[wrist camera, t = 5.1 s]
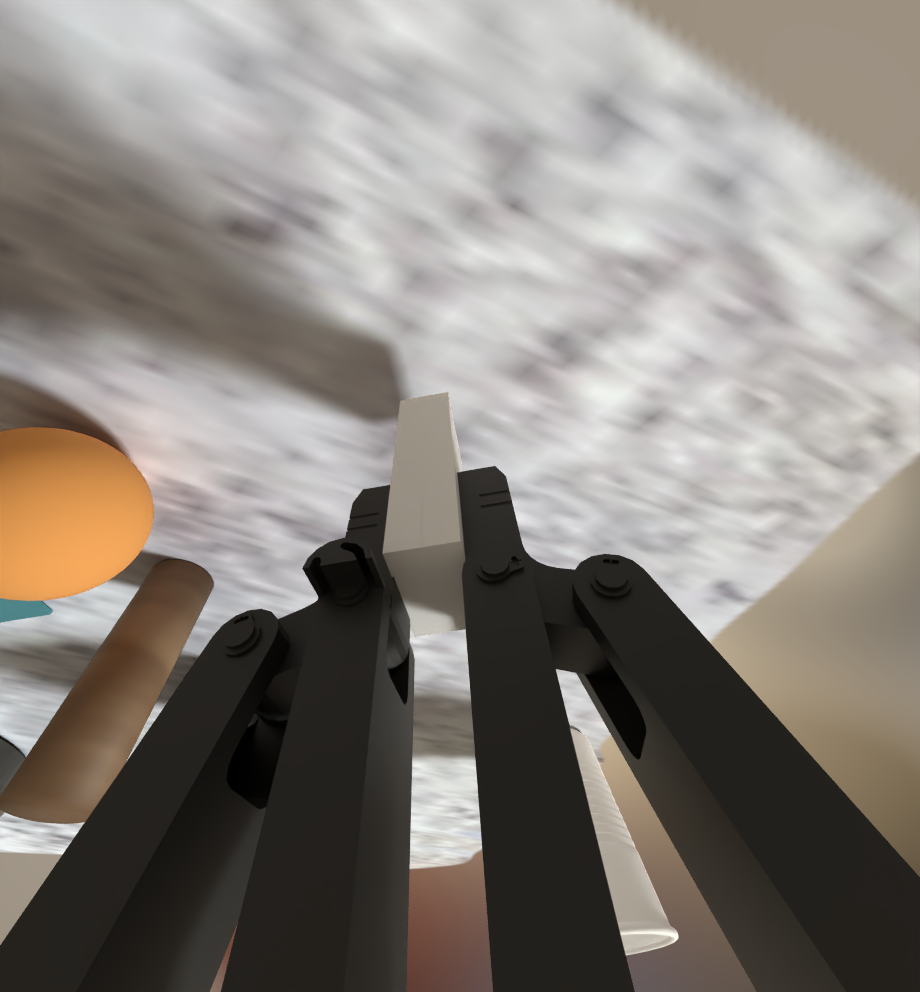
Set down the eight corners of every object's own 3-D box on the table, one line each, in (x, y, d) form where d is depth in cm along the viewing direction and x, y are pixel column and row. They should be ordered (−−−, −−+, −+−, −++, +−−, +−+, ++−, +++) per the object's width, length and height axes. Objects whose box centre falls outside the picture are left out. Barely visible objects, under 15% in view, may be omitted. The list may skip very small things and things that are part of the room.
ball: (-16, 611, 15) (68, 659, 13) (-187, 486, 12) (-113, 520, 9) (130, 509, 19) (216, 532, 16) (33, 391, 15) (124, 400, 13)
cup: (525, 779, 37) (555, 967, 29) (456, 742, 32) (466, 957, 24) (633, 743, 34) (703, 942, 25) (575, 695, 29) (637, 925, 20)
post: (172, 601, 21) (42, 827, 14) (139, 564, 19) (-27, 799, 12) (223, 593, 21) (118, 818, 14) (195, 555, 19) (59, 787, 12)
